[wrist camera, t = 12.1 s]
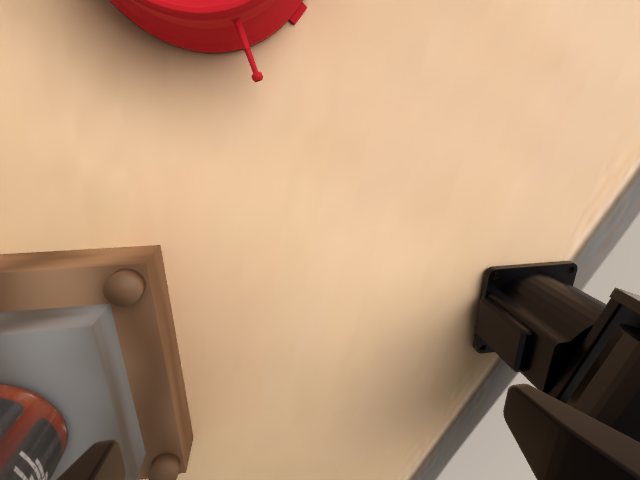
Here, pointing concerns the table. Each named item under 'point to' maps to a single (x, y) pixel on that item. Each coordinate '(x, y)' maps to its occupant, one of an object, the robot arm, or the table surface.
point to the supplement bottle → (29, 435)
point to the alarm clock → (213, 22)
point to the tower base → (135, 326)
